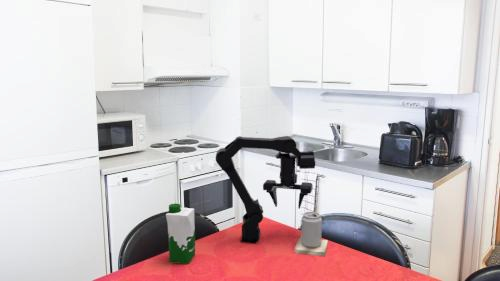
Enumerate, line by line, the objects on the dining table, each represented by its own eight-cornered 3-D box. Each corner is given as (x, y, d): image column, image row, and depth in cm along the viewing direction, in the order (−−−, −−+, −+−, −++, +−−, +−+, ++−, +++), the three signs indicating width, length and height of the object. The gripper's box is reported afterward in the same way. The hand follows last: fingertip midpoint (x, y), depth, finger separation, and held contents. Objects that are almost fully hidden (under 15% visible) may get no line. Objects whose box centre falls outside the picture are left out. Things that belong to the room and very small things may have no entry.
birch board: (294, 252, 148) (294, 249, 147) (299, 240, 158) (299, 237, 158) (324, 256, 145) (324, 252, 144) (327, 243, 155) (327, 240, 155)
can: (324, 247, 148) (325, 216, 146) (305, 249, 147) (306, 218, 145) (316, 239, 156) (317, 209, 154) (298, 241, 154) (298, 211, 152)
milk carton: (175, 252, 149) (173, 201, 146) (198, 254, 148) (196, 202, 144) (166, 263, 141) (163, 209, 137) (190, 265, 139) (188, 210, 136)
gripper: (314, 165, 160) (314, 202, 163) (269, 163, 166) (269, 199, 168) (310, 172, 150) (310, 212, 153) (262, 169, 155) (262, 208, 158)
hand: (287, 207), depth 158 cm, fingers open, 9 cm apart
